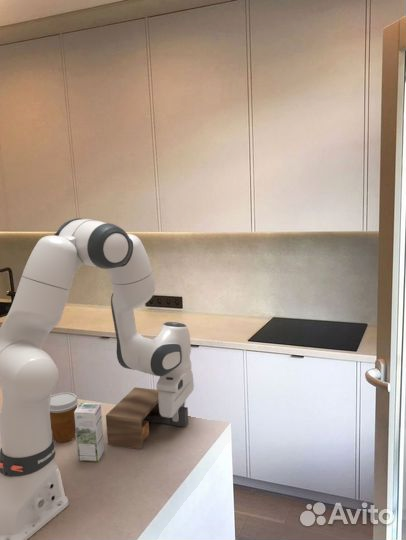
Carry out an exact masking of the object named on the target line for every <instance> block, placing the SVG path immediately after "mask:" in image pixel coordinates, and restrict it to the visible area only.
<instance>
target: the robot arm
mask: <svg viewBox="0 0 406 540" xmlns="http://www.w3.org/2000/svg"><path fill="white" fill-rule="evenodd" d="M83 265H85V266H89V267H94V268H99V269H104V270H108V273H109V279H110V281H111V284H112V285H111V286H112V291H113V292H112V294H111V297H110V307H111V309H110V310H111V314H112V320H113V325H114V326H113V327H114V331H115V332H114V333H115V337H116V358H117V361H118V363H119V364H120V366H121V367H122V368H125V369H129V370H132V371H133V370H134V371H138V372H141V373H143V374H148V375H151V376H155V377H159V378H158V380H157V382H156V390H159V394H158V402H159V412H160V415H161V416H162V417H167V418H173V421H175V422H178V420H179V419H180V414H178V411H179V408H180V407H186V401H187V399H188V398H189V396H190V395H191V394H192V392H193V391H194V387H195V382H194V376H193V375H194V373H193V371H192V362H191V357H190V356H191V352H192V347H191V335H190V331H189V327H188V325H186V324H185V323H182V322H176V321H175V322H174V321H167V322H166V321H165V322H164V323H162V324H161V330H160V332H159V333H158V335H157V336H156V337H154V338H153V339H152V338H148V337H145V336H143V335H141V334H140V333H139V332H138V331H137V325H136V320H135V312H134V310H135V309H138V308H140V307H142V306H143V305H145V304H146V303H148V302H149V301H150V300H151V299H152V297H153V296H154V294H155V291H156V278H155V275H154V274H155V273H154V271H153V268H152V265H151V260H150V258H149V255H148V253H147V251H146V248H145V246H144V245H143V242H142V241H141V238H140V237H138V236H137V235H135V234H132V233H127V232H126V231H125V230H124V229H123V228H121V227H120V226H118V225H116V224H114V223H109V222H104V221H101V220H97V219H91V218H77V217H76V218H72V219H69V220H67V221H65V222H64V223H63V224H62V225H60V227H59V228H58V229H57V231H56V232H55V233H54V234H53V235H46V236H43V237H41V238H39V240H38V241H37V243H36V244H35V246H34V248H33V249H32V251H31V253H30V256H29V257H28V259H27V262H26V265H25V267H24V268H23V271H22V275H21V277H20V280H19V283H18V286H17V288H16V292H15V296H14V298H13V301H12V304H11V306H10V309H9V311H8V313H7V314H6V317H5V319H4V321H3V322H2V323H1V326H0V390H1V395H2V405H1V412H0V443H1V444H0V445H1V447H0V540H28V539H30V538H31V537H32V536H33V535H34V534H35V533H37V532H38V531H39V530H40V529H42V528H43V527H44V526H45V525H46V524H47V523H49V522H50V521H51V520H52V519H54V518H55V517H56V516H57V515H58V514H60V513H61V512H62V511H63V510H64V509H66V508H67V507H68V506H69V505H70V502H69V498H68V497H67V496H66V494H65V488H64V485H63V480H62V477H61V472H60V468H59V466H58V464H57V461H56V458H55V456H56V444H55V441H54V438H53V434H52V430H51V421H50V402H51V396H52V393H53V392H54V391H55V389H56V387H57V385H58V382H59V378H60V376H59V369H58V367H57V364H56V363H55V362H54V360H53V359H52V357H51V355H50V354H48V353H47V352H46V351H44V350H42V347H43V344H44V342H45V341H46V339H47V337H48V335H49V334H50V333H51V332H52V330H53V328H55V327H56V326H58V325H59V324H60V322H61V319H62V317H63V313H64V311H65V308H66V304H67V301H68V298H69V295H70V292H71V290H72V285H73V282H74V279H75V275H76V274H77V271H78V270H79V269H80V268H81V266H83Z"/></svg>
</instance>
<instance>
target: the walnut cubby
mask: <svg viewBox="0 0 406 540" xmlns="http://www.w3.org/2000/svg"><path fill="white" fill-rule="evenodd" d="M158 394H159V390H157V389H153V388H145V387H144V388H143V387H134V388H133V389H132V390H130V391H129V392H128V393H127V394H126V395H125V396H124V397H123V398H122V399H121V400H120V401H119V402H118V403H117V404H115V406H114V407H113V408H112V409H111V410H109V411H108V412H107V413H106V414H105V421H106V423H105V424H106V434H107V435H106V437H107V445H108V446H109V445H110V446H115V447H124V448H129V449H136V450H143V449H144V441H143V435H142V420H143V419H144V418H145V417H146V416H147V415H148V413H149V412H152V413H160V412H159V402H158Z"/></svg>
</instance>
